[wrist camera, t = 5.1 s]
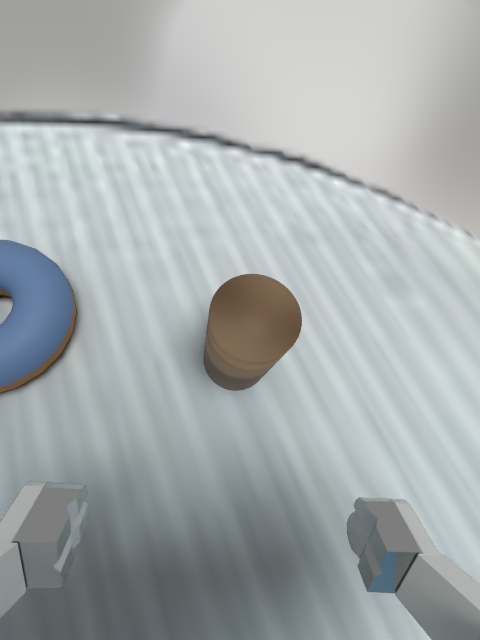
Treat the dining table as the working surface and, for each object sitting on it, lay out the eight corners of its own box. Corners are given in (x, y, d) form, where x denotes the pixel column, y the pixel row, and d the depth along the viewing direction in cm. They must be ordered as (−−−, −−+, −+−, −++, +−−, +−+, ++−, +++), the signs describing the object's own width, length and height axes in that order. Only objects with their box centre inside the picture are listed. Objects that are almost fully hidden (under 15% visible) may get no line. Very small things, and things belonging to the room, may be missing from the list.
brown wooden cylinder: (250, 402, 22) (279, 378, 14) (191, 371, 22) (191, 332, 14) (276, 346, 23) (314, 299, 16) (222, 318, 24) (235, 259, 16)
